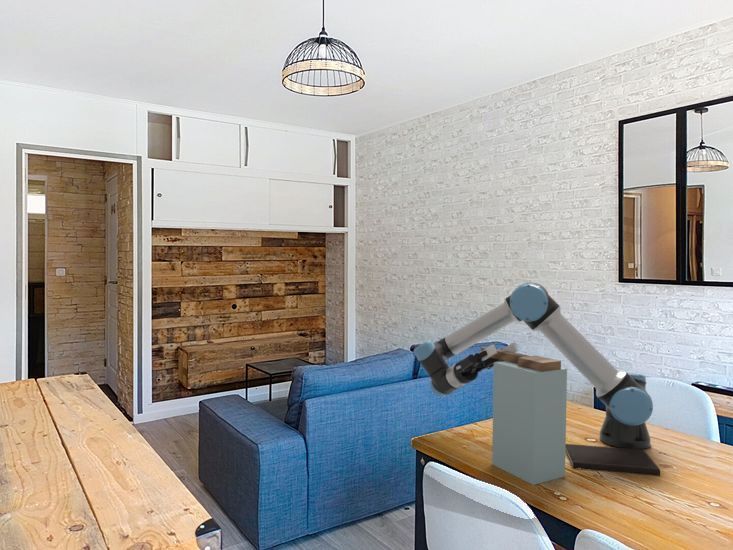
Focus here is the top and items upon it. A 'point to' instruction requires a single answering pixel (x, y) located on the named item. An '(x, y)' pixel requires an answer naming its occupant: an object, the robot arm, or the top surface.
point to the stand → (529, 422)
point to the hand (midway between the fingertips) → (505, 347)
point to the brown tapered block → (527, 360)
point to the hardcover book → (611, 459)
